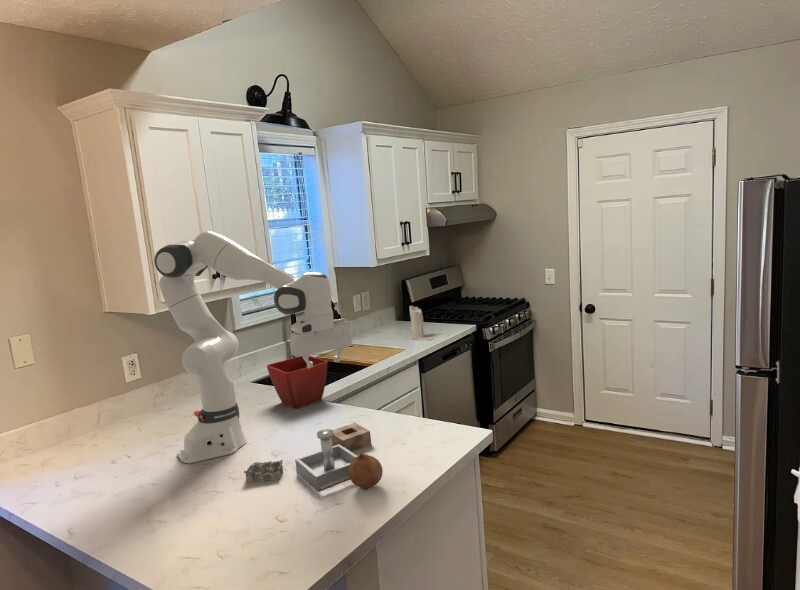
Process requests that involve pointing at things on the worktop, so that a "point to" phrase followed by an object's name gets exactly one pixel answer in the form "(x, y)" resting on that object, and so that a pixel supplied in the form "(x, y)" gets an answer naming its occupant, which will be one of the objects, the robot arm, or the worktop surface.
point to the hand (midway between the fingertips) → (323, 364)
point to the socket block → (351, 437)
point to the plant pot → (299, 380)
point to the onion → (365, 471)
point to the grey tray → (327, 476)
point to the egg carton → (262, 468)
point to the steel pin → (326, 448)
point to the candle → (417, 324)
